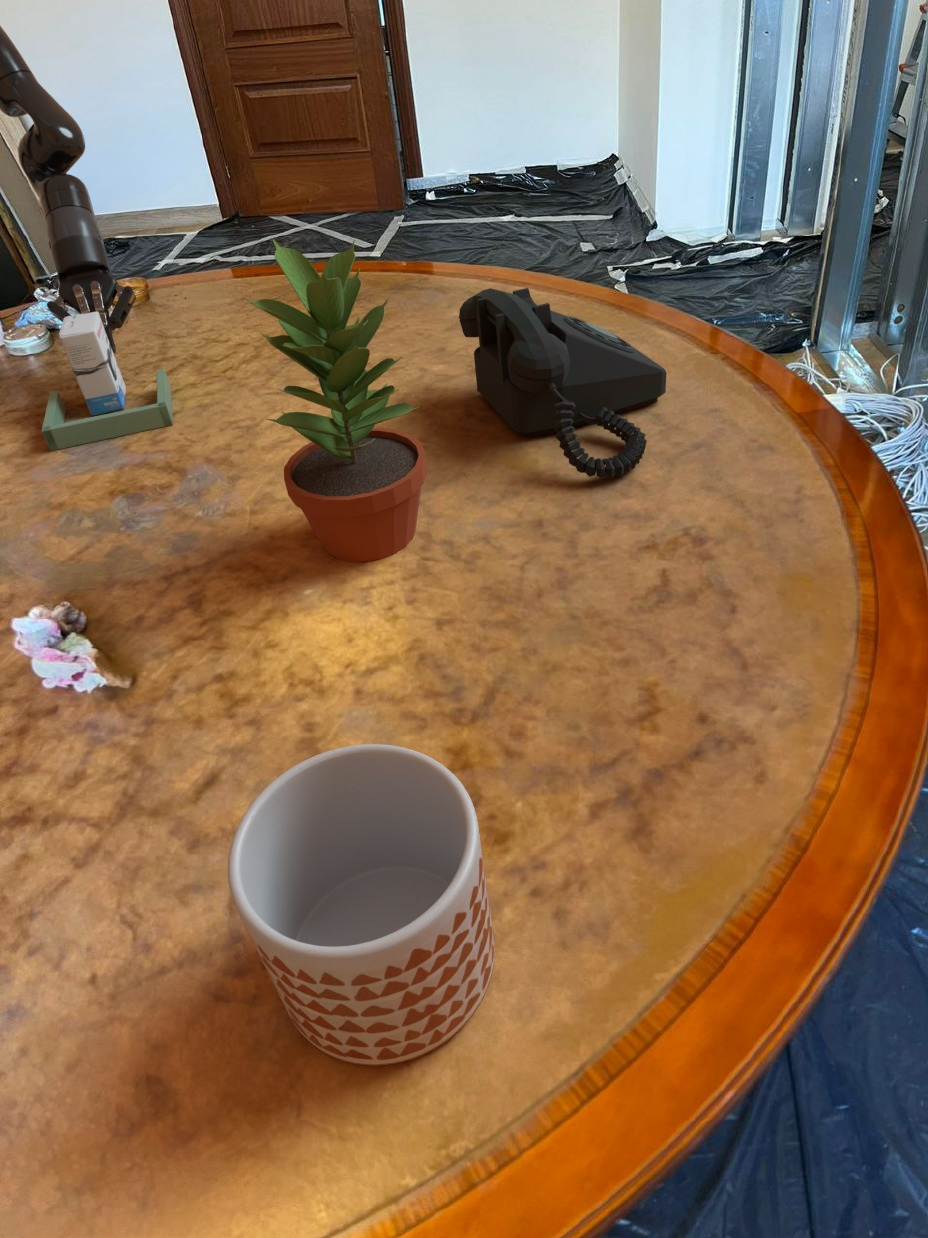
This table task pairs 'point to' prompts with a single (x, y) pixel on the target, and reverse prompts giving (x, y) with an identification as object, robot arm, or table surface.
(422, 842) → the planter
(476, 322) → the rotary telephone
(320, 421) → the potted plant
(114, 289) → the robot arm
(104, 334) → the ink box
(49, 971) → the table surface
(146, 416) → the bracket
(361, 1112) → the table surface
